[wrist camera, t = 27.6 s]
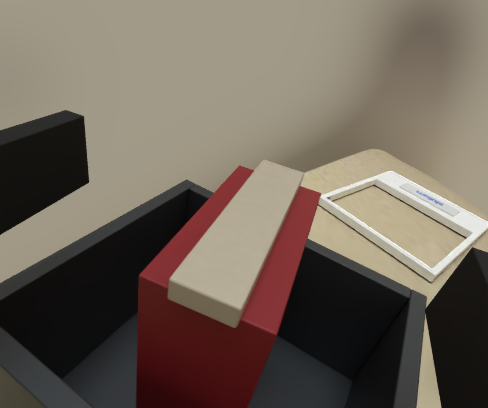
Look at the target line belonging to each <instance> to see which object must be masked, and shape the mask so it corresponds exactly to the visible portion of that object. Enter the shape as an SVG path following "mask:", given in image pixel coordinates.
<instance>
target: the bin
mask: <svg viewBox="0 0 488 408" xmlns="http://www.w3.org/2000/svg"><path fill="white" fill-rule="evenodd" d="M213 194H214V193H213V192H211V191H209V190H207V189H205V188H202V187H201V186H198V185H196V184H194V183H193V182H190V181H188V180H185V181H183V182H182V183H180V184H178V185H176V186H175V187H172V188H171V189H169V190H167V191H165V192H164V193H162V194H160V195H158V196H156V197H154V198H153V199H151V200H149V201H147V202H145V203H144V204H142V205H140V206H138V207H136V208H135V209H133V210H131V211H129V212H127V213H126V214H124V215H122V216H120V217H118V218H117V219H115V220H113V221H111V222H110V223H108V224H106V225H104V226H102V227H100V228H99V229H97V230H95V231H93V232H92V233H90V234H88V235H86V236H84V237H83V238H81V239H79V240H77V241H75V242H74V243H72V244H70V245H68V246H66V247H65V248H63V249H61V250H59V251H57V252H56V253H54V254H52V255H50V256H49V257H47V258H45V259H43V260H41V261H39V262H38V263H36V264H34V265H32V266H30V267H29V268H27V269H25V270H23V271H21V272H20V273H18V274H16V275H14V276H12V277H11V278H9V279H7V280H5V281H3V282H2V283H0V408H136V381H137V333H138V285H139V275H140V273H141V272H142V271H143V270H144V269H145V268H146V267H147V266H148V265H149V264H150V263H151V261H152V260H153V259H154V258H155V257H156V256H157V255H158V254H159V253H160V252H161V251H162V249H163V248H164V247H165V246H166V245H167V244H168V243H169V242H170V241H171V240H172V239H173V237H174V236H175V235H176V234H177V233H178V232H179V231H180V230H181V229H182V228H183V227H184V225H185V224H186V223H187V222H188V221H189V220H190V219H191V218H192V217H193V216H194V214H195V213H196V212H197V211H198V210H199V209H200V208H201V207H202V206H203V205H204V204H205V202H206V201H207V200H208V199H209V198H210V197H211V196H212V195H213ZM426 300H427V297H426V296H424V295H422V294H420V293H418V292H416V291H414V290H411V289H410V288H408V287H406V286H404V285H402V284H400V283H398V282H396V281H394V280H392V279H390V278H387V277H385V276H383V275H381V274H379V273H377V272H375V271H373V270H371V269H369V268H367V267H365V266H363V265H361V264H359V263H357V262H355V261H353V260H351V259H348V258H346V257H344V256H342V255H340V254H338V253H336V252H334V251H332V250H330V249H328V248H326V247H324V246H322V245H320V244H318V243H316V242H314V241H311V240H309V239H307V241H306V245H305V248H304V251H303V254H302V257H301V260H300V264H299V267H298V270H297V273H296V276H295V280H294V283H293V286H292V289H291V292H290V296H289V299H288V302H287V305H286V308H285V312H284V315H283V318H282V321H281V324H280V328H279V331H278V334H277V337H276V339H275V342H274V344H273V347H272V349H271V352H270V354H269V356H268V359H267V361H266V364H265V366H264V369H263V371H262V374H261V376H260V379H259V381H258V384H257V386H256V389H255V391H254V394H253V396H252V399H251V401H250V403H249V406H248V408H416V406H417V395H418V385H419V374H420V364H421V353H422V343H423V332H424V321H425V309H426Z"/></svg>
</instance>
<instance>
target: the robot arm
mask: <svg viewBox="0 0 488 408" xmlns="http://www.w3.org/2000/svg"><path fill="white" fill-rule="evenodd" d="M87 183H89V175H88V162H87V150H86V137H85V124H84V116H82V115H79V114H76V113H73V112H70V111H67V110H65V111H61V112H58V113H55V114H52V115H49V116H45V117H42V118H39V119H36V120H32V121H29V122H26V123H23V124H19V125H16V126H13V127H10V128H7V129H4V130H0V235H1V234H2V233H4V232H6V231H7V230H9V229H11V228H12V227H14V226H16V225H17V224H19V223H21V222H23V221H24V220H26V219H28V218H30V217H31V216H33V215H35V214H36V213H38V212H40V211H41V210H43V209H45V208H47V207H48V206H50V205H52V204H53V203H55V202H57V201H58V200H60V199H62V198H64V197H65V196H67V195H68V194H70V193H72V192H74V191H75V190H77V189H79V188H80V187H82V186H84V185H86V184H87ZM425 313H426V319H427V324H428V330H429V336H430V342H431V348H432V354H433V360H434V366H435V372H436V377H437V383H438V389H439V395H440V401H441V407H442V408H488V253H487V252H485V251H482V250H479V249H476V248H473V247H472V248H471V250H470V251H469V252H468V254H467V255H466V256H465V258H464V259H463V260H462V261H461V263H460V264H459V265H458V267H457V268H456V269H455V271H454V272H453V273H452V275H451V276H450V277H449V279H448V280H447V281H446V283H445V284H444V285H443V287H442V288H441V289H440V291H439V292H438V293H437V295H436V296H435V297H434V299H433V300H432V301H431V302H430V304H429V305H428V306H427V308H426V309H425Z"/></svg>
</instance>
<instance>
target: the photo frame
mask: <svg viewBox="0 0 488 408" xmlns="http://www.w3.org/2000/svg"><path fill="white" fill-rule="evenodd" d="M372 185H376V186H378V187H380V188H381V189H383V190H385V191H386V192H388V193H390V194H392V195H393V196H395V197H397V198H399V199H400V200H402V201H404V202H406V203H407V204H409V205H411V206H413V207H414V208H416V209H418V210H419V211H421V212H423V213H425V214H426V215H428V216H430V217H432V218H433V219H435V220H437V221H439V222H440V223H442V224H444V225H446V226H447V227H449V228H451V229H452V230H454V231H456V232H458V233H459V234H461V235H463V236H465V237H466V238H467V239H466V240H464V241H463V242H462V243H461V244H460V245H459V246H458V247H456V248H455V249H454V250H453V251H452V252H451V253H450V254H448V255H447V256H446V257H445V258H444V259H443V260H442V261H440V262H439V263H438V264H437V265H436V266H435V267H434V268H431V267H429V266H428V265H426V264H425V263H423V262H422V261H420V260H419V259H417V258H416V257H414V256H413V255H411V254H410V253H408V252H407V251H405V250H404V249H402V248H401V247H399V246H398V245H396V244H395V243H393V242H392V241H390V240H389V239H387V238H386V237H384V236H383V235H381V234H380V233H378V232H377V231H375V230H374V229H372V228H371V227H369V226H368V225H366V224H365V223H363V222H362V221H360V220H359V219H357V218H356V217H354V216H353V215H351V214H350V213H348V212H347V211H345V210H344V209H342V208H341V207H339V206H338V205H336V204H335V203H333V202H332V201H333V200H335V199H338V198H341V197H343V196H346V195H348V194H351V193H353V192H356V191H359V190H361V189H364V188H366V187H369V186H372ZM318 204H319V205H320V206H322V207H323V208H325V209H326V210H328V211H329V212H330V213H332V214H333V215H335V216H336V217H338V218H339V219H341V220H342V221H343V222H345V223H346V224H348V225H349V226H351V227H352V228H354V229H355V230H356V231H358V232H359V233H361V234H362V235H364V236H365V237H367V238H368V239H369V240H371V241H372V242H374V243H375V244H377V245H378V246H379V247H381V248H382V249H384V250H385V251H387V252H388V253H390V254H391V255H392V256H394V257H395V258H397V259H398V260H400V261H401V262H403V263H404V264H405V265H407V266H408V267H410V268H411V269H413V270H414V271H415V272H417V273H418V274H420V275H421V276H423V277H424V278H426V279H427V280H428V281H430V282H432V281H433V280H434V279H435V278H436V277H437V276H438V275H439V274H440V273H441V272H443V271H444V270H445V269H446V268H447V267H448V266H449V265H450V264H451V263H452V262H453V261H454V260H455V259H456V258H458V257H459V256H460V255H461V254H462V253H463V252H464V251H465V250H466V249H467V248H468V247H469V246H470V245H471V244H473V243H474V242H475V241H476V240H477V239H478V238H479V237H480V236H481V235H482V234H483V233H484V232H485V231H486V230H488V222H487V221H486V220H484V219H482V218H480V217H478V216H476V215H474V214H472V213H470V212H469V211H467V210H465V209H463V208H461V207H459V206H457V205H455V204H453V203H452V202H450V201H448V200H446V199H444V198H442V197H440V196H438V195H436V194H435V193H433V192H431V191H429V190H427V189H425V188H423V187H421V186H419V185H418V184H416V183H414V182H412V181H410V180H408V179H406V178H404V177H402V176H401V175H399V174H397V173H395V172H393V171H388V172H385V173H382V174H379V175H377V176H374V177H371V178H368V179H365V180H363V181H360V182H357V183H354V184H351V185H349V186H346V187H343V188H340V189H337V190H335V191H332V192H329V193H326V194H323V195H321V197H320V200H319V203H318Z"/></svg>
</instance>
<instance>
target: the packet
mask: <svg viewBox="0 0 488 408" xmlns="http://www.w3.org/2000/svg"><path fill="white" fill-rule="evenodd" d="M303 176H304V173H303V172H300V171H297V170H294V169H290V168H288V167H285V166H282V165H279V164H276V163H272V162H270V161H267V160H262V162H261V163H260V164H259V166H258V167H257V168H256V169H255V171H254V170H251V169H248V168H245V167H242V166H239V167H238V168H237V169H236V170H235V171H234V172H233V173H232V174H231V175H230V176H229V177H228V178H227V180H226V181H225V182H224V183H223V184H222V185H221V186H220V187H219V188H218V189H217V191H216V192H215V193H214V194H213V195H212V196H211V197H210V198H209V199H208V200H207V201H206V202H205V204H204V205H203V206H202V207H201V208H200V209H199V210H198V211H197V212H196V213H195V214H194V216H193V217H192V218H191V219H190V220H189V221H188V222H187V223H186V224H185V225H184V227H183V228H182V229H181V230H180V231H179V232H178V233H177V234H176V235H175V236H174V237H173V239H172V240H171V241H170V242H169V243H168V244H167V245H166V246H165V247H164V248H163V249H162V251H161V252H160V253H159V254H158V255H157V256H156V257H155V258H154V259H153V260H152V261H151V263H150V264H149V265H148V266H147V267H146V268H145V269H144V270H143V271H142V272H141V273H140V275H139V285H138V333H137V381H136V408H248V406H249V403H250V401H251V399H252V396H253V394H254V391H255V389H256V386H257V384H258V381H259V379H260V376H261V374H262V371H263V369H264V366H265V364H266V361H267V359H268V356H269V354H270V352H271V349H272V347H273V344H274V342H275V339H276V337H277V334H278V331H279V328H280V324H281V321H282V318H283V315H284V312H285V308H286V305H287V302H288V299H289V296H290V292H291V289H292V286H293V283H294V280H295V276H296V273H297V270H298V267H299V264H300V260H301V257H302V254H303V251H304V248H305V245H306V241H307V238H308V235H309V232H310V229H311V225H312V222H313V219H314V216H315V213H316V209H317V206H318V203H319V200H320V197H321V193H319V192H316V191H313V190H310V189H307V188H304V187H301V183H302V179H303Z"/></svg>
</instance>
